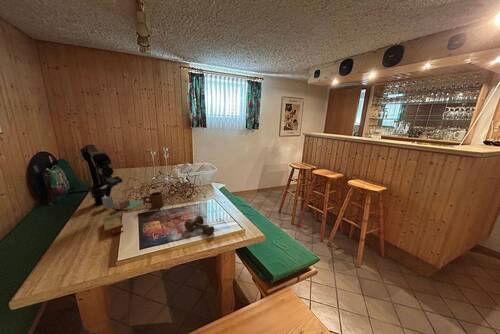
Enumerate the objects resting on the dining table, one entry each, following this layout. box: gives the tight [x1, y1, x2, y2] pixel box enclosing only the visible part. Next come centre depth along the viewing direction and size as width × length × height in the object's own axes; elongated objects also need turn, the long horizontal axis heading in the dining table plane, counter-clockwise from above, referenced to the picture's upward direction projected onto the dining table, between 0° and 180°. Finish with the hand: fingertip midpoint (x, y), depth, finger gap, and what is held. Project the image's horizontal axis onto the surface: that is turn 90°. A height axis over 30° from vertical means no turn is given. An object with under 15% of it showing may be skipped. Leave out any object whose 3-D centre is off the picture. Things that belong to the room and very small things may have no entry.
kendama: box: [184, 215, 215, 237], centre depth 108 cm, size 6×10×20 cm
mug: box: [142, 191, 164, 209], centre depth 132 cm, size 12×8×9 cm, turn 123°
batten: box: [112, 206, 129, 211], centre depth 131 cm, size 12×1×1 cm, turn 74°
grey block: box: [102, 195, 114, 210], centre depth 132 cm, size 4×4×8 cm
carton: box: [102, 213, 124, 237], centre depth 110 cm, size 8×16×4 cm, turn 40°
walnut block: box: [113, 199, 130, 210], centre depth 132 cm, size 4×4×8 cm
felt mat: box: [124, 198, 145, 210], centre depth 138 cm, size 14×12×1 cm
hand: (108, 196), depth 122 cm, fingers closed
